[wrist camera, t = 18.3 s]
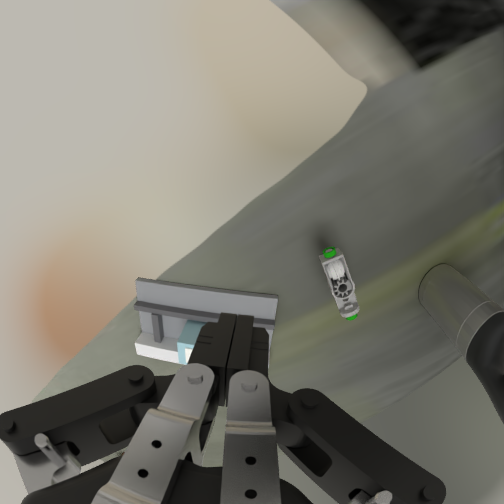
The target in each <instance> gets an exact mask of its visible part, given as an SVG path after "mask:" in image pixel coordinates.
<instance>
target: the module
mask: <svg viewBox="0 0 504 504" xmlns="http://www.w3.org/2000/svg"><path fill="white" fill-rule="evenodd" d="M206 323H207V322H201V321H194V320H187V322H186V324H185V326H184V328H183V330H182V333H181V335H180V337H179V339H178V341H177V348H178V358H179V363H181V364H186V365H187V363H188V360H189V358H190V355H191V353H192V350H193V347H194V345H195V342H196V340H197V337H198V335H199V332H200V330H201V327H202V326H204V325H205V324H206Z"/></svg>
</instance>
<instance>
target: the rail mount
mask: <svg viewBox="0 0 504 504" xmlns="http://www.w3.org/2000/svg"><path fill="white" fill-rule="evenodd" d="M136 290H137V299H138V301H137V302H136V303H135V304H134V309H135V310H138V311H139V315H140V322H141V329H142V333H141V334H140V336H139V337H138V339H137V340H136V342H135V346H136V351H137V354H138V355H143V356H147V357H151V358H155V359H160V360H165V361H169V362H174V363H179V358H178V348H177V341H178V339H179V337H180V335H181V333H182V330H183V328H184V326H185V324H186V322H187V320H194V321H201V322H208V321H209V322H216V323H218V320H219V317H220V314H221V312H224V313H232V314H237V318H238V314H242V315H252V316H254V324H253V327H262V328H265V329H266V331H267V332H268V334H269V351H270V345H271V339H272V333H273V330H274V327H275V315H276V308H277V302H278V295H270V294H260V293H251V292H242V291H234V290H225V289H217V288H209V287H201V286H194V285H186V284H179V283H172V282H165V281H158V280H152V279H145V278H139V277H138V278H137V279H136ZM179 364H181V363H179ZM185 365H186V364H185ZM268 368H269V360H268Z"/></svg>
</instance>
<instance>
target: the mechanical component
mask: <svg viewBox="0 0 504 504" xmlns="http://www.w3.org/2000/svg"><path fill="white" fill-rule="evenodd" d="M319 259H320V261H321V264H322V266H323V269H324V271H325V274H326V277H327V282H328V285H329V287H330V290H331V292H332V295H333V296H334V298H335V301H336V304H337V306H338V309H339V312H340V314H341V316H342V317H346V319H347V320H353V319H355V318H356V317H357V312H358V311H359V305H358V303H357V300H356V297H355V294H354V290H355V285H354V283H353V281H352V279H351V276H350V273H349V270H348V267H347V264H346V262H345V259H344V256H343V254H342V252H341V251H340V250H339V248H336V249H335V247H328V248H326V249H324V250H323V254H322V255H319Z"/></svg>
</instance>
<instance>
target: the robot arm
mask: <svg viewBox="0 0 504 504" xmlns="http://www.w3.org/2000/svg"><path fill="white" fill-rule="evenodd" d="M419 300H420V303H421V304H422V305H423V307H424V308H425V309H426V310H427V311H428V313H429V314H430V315H431V316H432V318H433V319H434V320H435V321H436V323H437V324H438V325H439V326H440V328H441V329H442V330H443V331H444V333H445V334H446V335H447V336H448V338H449V339H450V340H451V342H452V343H453V344H454V345H455V347H456V348H457V349H458V351H459V352H460V353H461V355H462V356H463V357H464V359H465V360H466V361H467V363H468V364H469V366H470V367H471V368H472V370H473V371H474V373H475V374H476V375H477V377H478V379H479V380H480V382H481V383H482V385H483V386H484V388H485V390H486V392H487V393H488V395H489V397H490V399H491V401H492V403H493V404H494V407H495V409H496V411H497V413H498V414H499V416H500V418H501V420H502V422H503V423H504V310H503V309H502V308H501V307H500V306H499V305H498V304H497V303H495V302H494V301H493V300H492V299H491V298H490V297H488V296H487V295H486V294H485V293H484V292H483V291H481V290H480V289H479V288H478V287H477V286H475V285H474V284H473V283H472V282H470V281H469V280H468V279H467V278H465V277H464V276H463V275H462V274H461V273H459V272H458V271H457V270H455V269H454V268H453V267H451V266H450V265H447V264H441V265H438V266H435V267H434V268H432V269H431V270H430V271H429V272H428V273H427V274H426V275H425V277H424V279H423V280H422V282H421V285H420V288H419ZM253 324H254V316H252V315H242V314H238V318H237V314H232V313H224V312H221V314H220V317H219V320H218V323H216V322H209V321H208V322H207V323H206V324H205V325H204V326H202V327H201V330H200V332H199V335H198V337H197V340H196V342H195V345H194V347H193V350H192V353H191V355H190V358H189V360H188V363H187V365H184V366H182V367H181V368H180V369H179V370H178V371H177V373H176V374H174V375H169V376H154V374H153V372H152V371H151V370H150V369H149V368H147V367H145V366H141V365H133V366H129V367H126V368H124V369H121V370H119V371H116V372H114V373H112V374H109V375H107V376H104V377H102V378H99V379H97V380H94V381H92V382H89V383H87V384H84V385H81V386H79V387H76V388H74V389H71V390H68V391H66V392H63V393H60V394H57V395H55V396H52V397H49V398H46V399H43V400H40V401H38V402H35V403H32V404H29V405H26V406H23V407H20V408H16V409H14V410H10V411H7V412H4V413H2V414H1V415H0V439H1V440H2V441H3V442H4V443H5V444H6V445H7V446H8V448H9V449H10V450H11V451H12V453H13V454H14V457H15V460H16V463H17V466H18V469H19V471H20V474H21V477H22V479H23V482H24V485H25V487H26V489H27V492H28V495H27V496H26V497H25V498H24V500H23V501H22V503H21V504H313V503H312V502H311V501H310V500H309V499H308V498H307V497H306V496H305V495H304V494H303V493H302V492H301V491H299V489H297V488H296V487H295V486H293V485H292V484H290V483H288V482H286V481H285V480H283V479H280V478H279V467H278V453H277V444H278V446H279V448H280V449H281V450H282V451H283V452H284V453H285V454H286V455H287V456H288V457H289V458H290V459H291V460H292V461H293V462H294V463H295V464H296V465H297V466H298V467H299V468H300V469H301V470H302V471H303V472H304V473H305V474H306V475H307V476H308V477H310V478H311V479H312V480H313V481H314V482H315V483H316V484H317V485H318V486H319V487H320V488H322V489H323V490H324V491H325V492H326V493H327V494H328V495H330V496H331V497H332V498H333V499H334V500H335V501H337V502H338V503H339V504H442V503H443V501H444V499H445V496H446V488H445V485H444V483H443V482H442V481H441V480H440V479H439V478H437V477H436V476H434V475H432V474H431V473H429V472H428V471H426V470H425V469H423V468H422V467H420V466H419V465H417V464H416V463H414V462H413V461H411V460H410V459H408V458H407V457H405V456H404V455H403V454H401V453H400V452H398V451H397V450H395V449H394V448H393V447H391V446H390V445H389V444H387V443H386V442H384V441H383V440H382V439H380V438H379V437H378V436H376V435H375V434H373V433H372V432H371V431H370V430H368V429H367V428H366V427H364V426H363V425H362V424H360V423H359V422H358V421H356V420H355V419H354V418H353V417H351V416H350V415H349V414H347V413H346V412H345V411H344V410H342V409H341V408H340V407H339V406H337V405H336V404H335V403H334V402H332V401H331V400H330V399H329V398H327V397H326V396H325V395H324V394H323V393H321V392H319V391H317V390H314V389H309V388H305V389H300V390H297V391H295V392H294V393H293V394H291V393H288V392H285V391H282V390H279V389H278V388H276V387H275V386H273V385H272V383H271V382H270V380H269V378H268V360H269V334H268V332H267V331H266V329H265V328H262V327H253ZM225 400H226V407H228V408H227V421H226V428H225V441H224V454H223V467H202V465H203V457H204V453H205V450H206V447H207V444H208V441H209V438H210V435H211V432H212V429H213V426H214V422H215V416H216V413H217V409H218V406H224V405H225ZM127 446H128V447H127ZM125 447H127V449H126V451H125V453H124V455H122V456H119V457H116V458H113V459H111V460H109V461H107V462H105V463H103V464H101V465H99V466H96V467H95V468H92V469H90V470H88V471H85V472H83V473H81V474H80V471H81V466H84V465H86V464H89V463H91V462H94V461H96V460H98V459H101V458H103V457H105V456H108V455H110V454H112V453H114V452H116V451H119V450H121V449H123V448H125Z"/></svg>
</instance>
